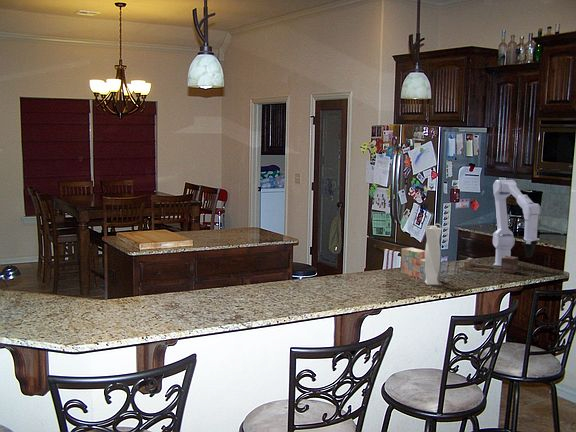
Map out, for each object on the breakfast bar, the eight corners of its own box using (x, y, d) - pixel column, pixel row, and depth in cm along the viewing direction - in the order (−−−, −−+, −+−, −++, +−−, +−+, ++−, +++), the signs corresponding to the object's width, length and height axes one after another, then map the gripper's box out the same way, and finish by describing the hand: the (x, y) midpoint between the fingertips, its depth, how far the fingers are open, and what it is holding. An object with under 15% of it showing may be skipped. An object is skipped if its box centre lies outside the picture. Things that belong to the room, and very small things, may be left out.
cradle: (469, 265, 332) (470, 256, 331) (492, 267, 326) (493, 258, 326) (464, 269, 321) (464, 260, 321) (488, 272, 316) (488, 262, 315)
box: (517, 271, 317) (518, 257, 316) (512, 273, 313) (513, 258, 312) (505, 270, 321) (506, 255, 320) (500, 271, 317) (501, 257, 316)
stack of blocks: (438, 280, 297) (439, 254, 296) (427, 281, 295) (428, 255, 293) (411, 271, 317) (412, 247, 315) (400, 272, 314) (401, 247, 312)
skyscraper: (443, 286, 286) (445, 223, 283) (425, 286, 287) (427, 223, 283) (439, 282, 295) (441, 221, 291) (421, 282, 295) (423, 221, 292)
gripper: (537, 231, 302) (536, 259, 304) (541, 227, 315) (540, 255, 316) (521, 230, 305) (520, 258, 307) (526, 226, 318) (525, 253, 320)
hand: (529, 256), depth 312 cm, fingers open, 6 cm apart
